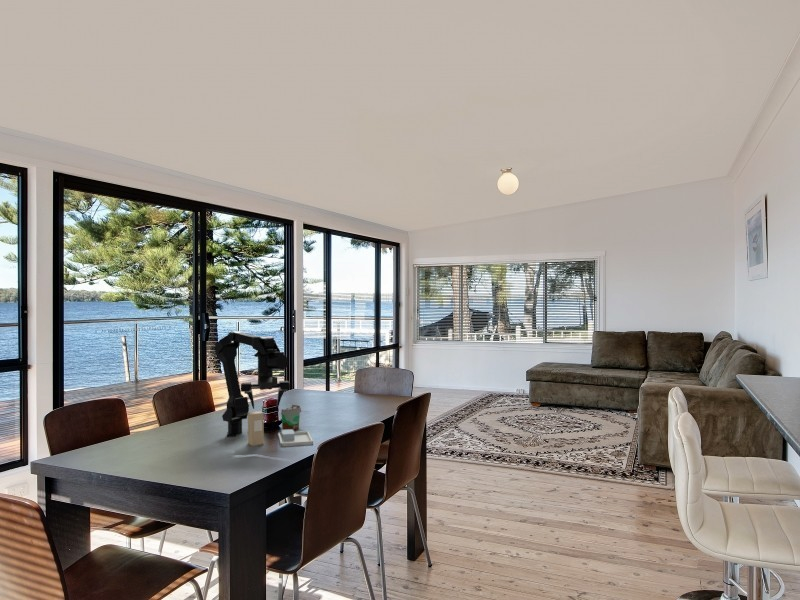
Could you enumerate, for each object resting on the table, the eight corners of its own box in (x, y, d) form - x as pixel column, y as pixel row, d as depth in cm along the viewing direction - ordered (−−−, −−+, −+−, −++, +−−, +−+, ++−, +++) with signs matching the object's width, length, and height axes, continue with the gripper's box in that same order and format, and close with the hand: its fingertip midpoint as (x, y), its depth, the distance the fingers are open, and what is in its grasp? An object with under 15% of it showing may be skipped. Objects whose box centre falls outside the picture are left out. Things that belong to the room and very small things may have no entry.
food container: (295, 434, 236) (294, 410, 237) (281, 433, 238) (281, 409, 238) (305, 427, 249) (305, 404, 249) (292, 427, 250) (292, 404, 250)
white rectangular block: (281, 436, 230) (281, 430, 230) (292, 435, 231) (292, 429, 231) (282, 440, 222) (282, 434, 222) (294, 440, 223) (294, 433, 223)
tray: (278, 437, 231) (278, 432, 231) (308, 435, 234) (308, 430, 234) (280, 448, 213) (280, 443, 213) (313, 446, 216) (313, 441, 216)
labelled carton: (247, 443, 218) (247, 412, 218) (259, 442, 221) (259, 411, 221) (252, 446, 215) (252, 414, 215) (263, 444, 217) (263, 413, 217)
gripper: (240, 371, 214) (240, 413, 214) (290, 369, 219) (291, 410, 219) (240, 368, 225) (241, 408, 225) (288, 366, 230) (289, 405, 230)
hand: (265, 408), depth 225 cm, fingers open, 9 cm apart
